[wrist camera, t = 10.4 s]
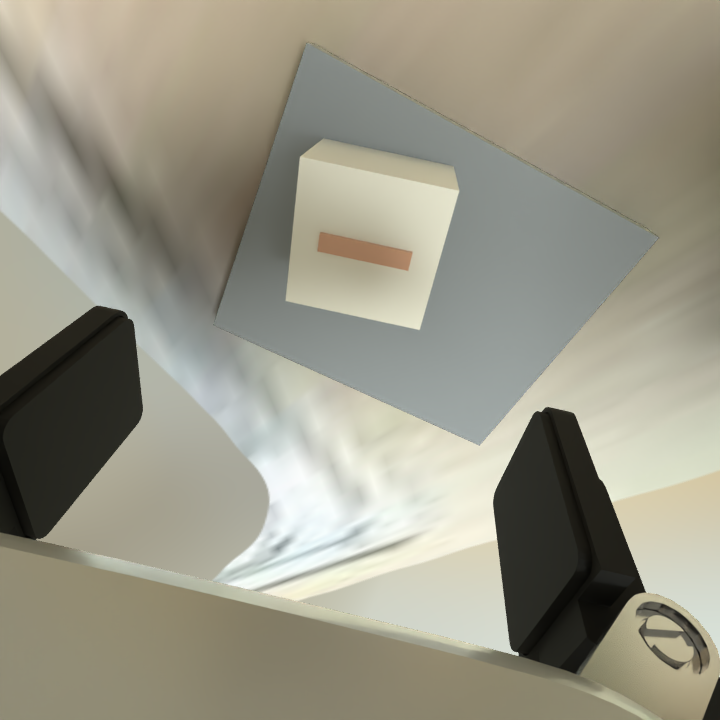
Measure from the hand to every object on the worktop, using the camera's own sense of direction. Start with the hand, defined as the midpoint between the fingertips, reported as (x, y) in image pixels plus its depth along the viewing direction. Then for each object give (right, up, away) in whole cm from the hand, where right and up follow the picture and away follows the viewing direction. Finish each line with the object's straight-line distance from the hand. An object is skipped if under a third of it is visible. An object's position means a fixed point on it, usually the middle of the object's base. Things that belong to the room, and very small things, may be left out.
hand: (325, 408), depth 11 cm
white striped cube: (+2, +8, +13) cm, 16 cm away
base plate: (+4, +6, +17) cm, 18 cm away
